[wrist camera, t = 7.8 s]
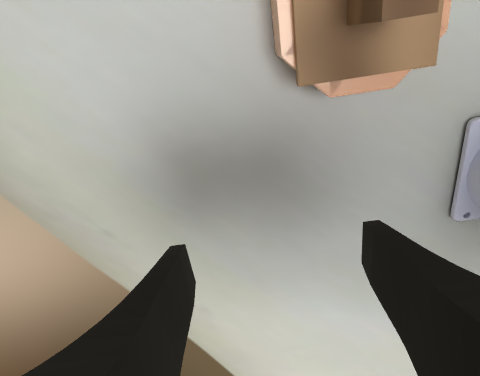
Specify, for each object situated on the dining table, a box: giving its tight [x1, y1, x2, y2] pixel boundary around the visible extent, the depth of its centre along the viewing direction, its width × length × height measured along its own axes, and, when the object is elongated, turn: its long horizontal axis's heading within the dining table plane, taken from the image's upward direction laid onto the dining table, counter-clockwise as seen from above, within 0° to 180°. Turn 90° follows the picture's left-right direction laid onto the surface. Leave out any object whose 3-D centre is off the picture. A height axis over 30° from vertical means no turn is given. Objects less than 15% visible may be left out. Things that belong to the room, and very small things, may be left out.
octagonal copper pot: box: [271, 0, 451, 97], centre depth 16 cm, size 8×8×3 cm
